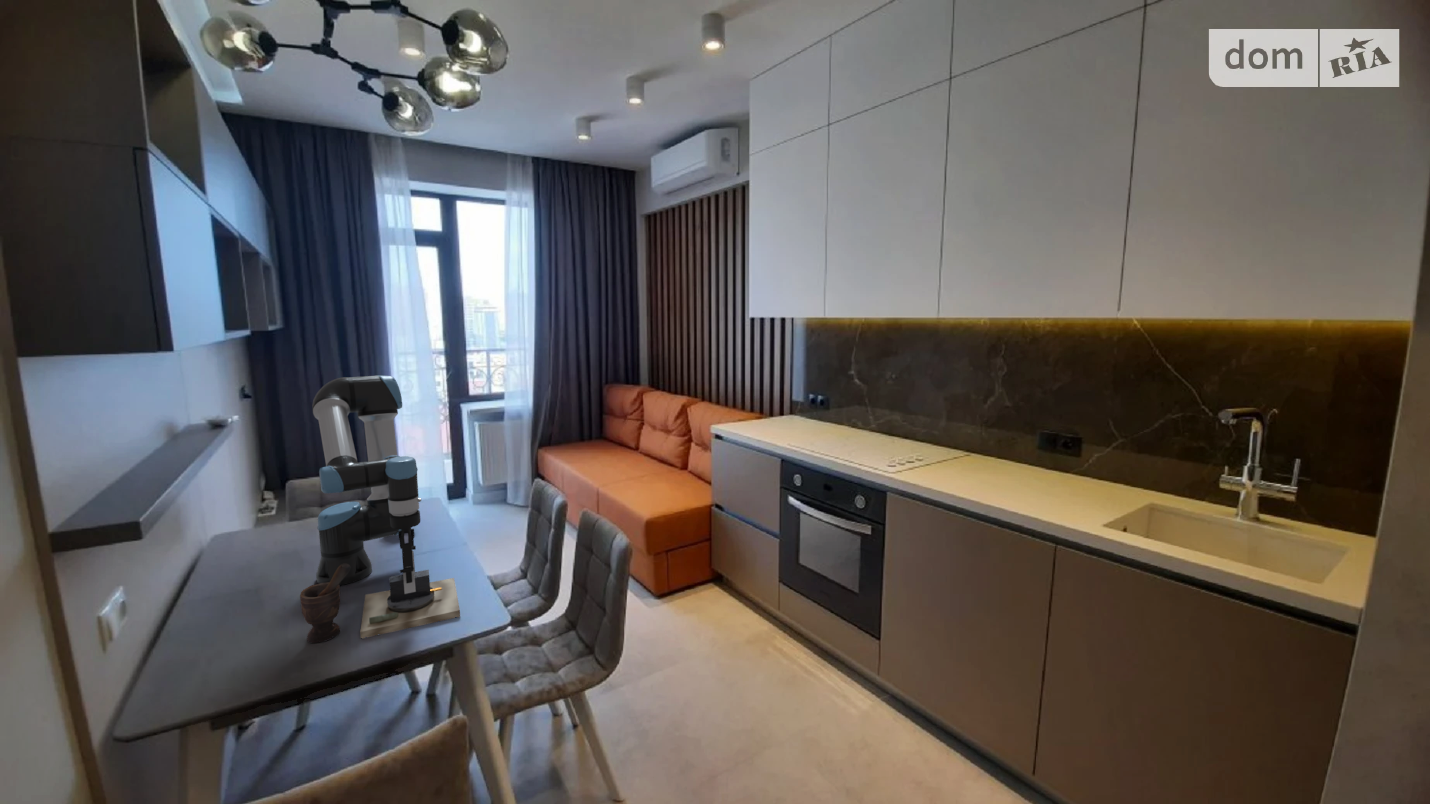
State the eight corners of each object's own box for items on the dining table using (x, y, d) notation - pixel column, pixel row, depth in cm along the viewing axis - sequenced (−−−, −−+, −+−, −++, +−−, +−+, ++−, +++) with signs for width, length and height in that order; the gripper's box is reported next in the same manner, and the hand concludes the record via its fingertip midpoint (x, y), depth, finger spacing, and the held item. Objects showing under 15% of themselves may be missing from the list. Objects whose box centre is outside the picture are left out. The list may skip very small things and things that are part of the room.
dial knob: (387, 616, 154) (384, 589, 153) (388, 597, 165) (386, 571, 164) (443, 604, 161) (441, 578, 160) (440, 586, 172) (439, 562, 170)
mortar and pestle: (358, 621, 156) (352, 553, 153) (355, 636, 149) (349, 566, 145) (307, 631, 150) (300, 561, 147) (302, 648, 143) (294, 575, 140)
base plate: (360, 638, 148) (359, 626, 147) (366, 601, 167) (365, 589, 166) (460, 616, 159) (459, 604, 158) (454, 583, 178) (453, 573, 178)
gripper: (420, 524, 149) (425, 598, 153) (418, 497, 171) (423, 562, 174) (388, 528, 146) (394, 604, 149) (390, 500, 167) (395, 567, 171)
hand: (410, 582), depth 162 cm, fingers open, 13 cm apart
